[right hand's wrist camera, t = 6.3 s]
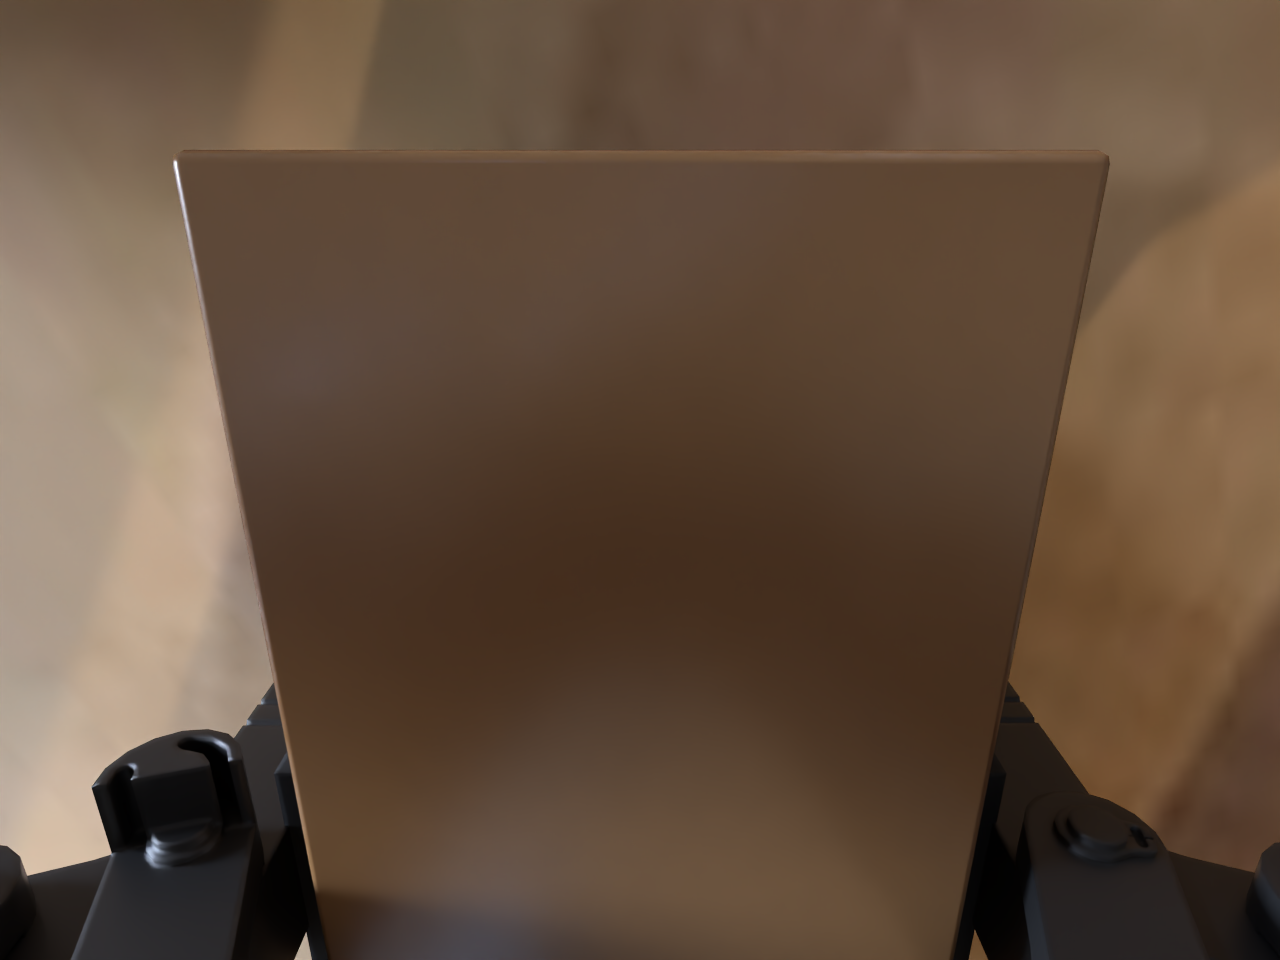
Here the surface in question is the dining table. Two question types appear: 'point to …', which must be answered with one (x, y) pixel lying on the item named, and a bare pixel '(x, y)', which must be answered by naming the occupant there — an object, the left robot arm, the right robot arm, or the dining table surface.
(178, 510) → the dining table surface
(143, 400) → the dining table surface
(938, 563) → the beam
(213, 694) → the dining table surface
